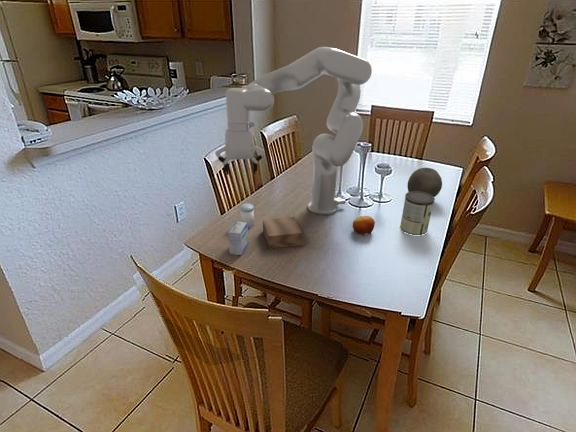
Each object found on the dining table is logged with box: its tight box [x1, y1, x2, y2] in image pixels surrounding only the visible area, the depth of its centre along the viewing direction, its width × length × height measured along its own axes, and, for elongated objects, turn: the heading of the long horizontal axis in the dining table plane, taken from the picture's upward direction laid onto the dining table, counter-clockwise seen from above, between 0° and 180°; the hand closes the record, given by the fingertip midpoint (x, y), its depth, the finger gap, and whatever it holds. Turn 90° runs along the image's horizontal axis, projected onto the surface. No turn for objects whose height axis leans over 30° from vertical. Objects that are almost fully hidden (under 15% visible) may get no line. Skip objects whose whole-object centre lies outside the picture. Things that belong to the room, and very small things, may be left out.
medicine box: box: [227, 221, 249, 256], centre depth 128 cm, size 8×4×9 cm, turn 168°
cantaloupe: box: [407, 167, 443, 198], centre depth 163 cm, size 14×14×15 cm
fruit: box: [352, 215, 376, 237], centre depth 139 cm, size 8×8×8 cm
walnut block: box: [262, 216, 303, 249], centre depth 135 cm, size 12×12×5 cm
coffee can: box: [399, 191, 436, 235], centre depth 140 cm, size 10×10×14 cm
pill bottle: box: [239, 203, 255, 229], centre depth 142 cm, size 5×5×8 cm
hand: (241, 173), depth 135 cm, fingers open, 9 cm apart
